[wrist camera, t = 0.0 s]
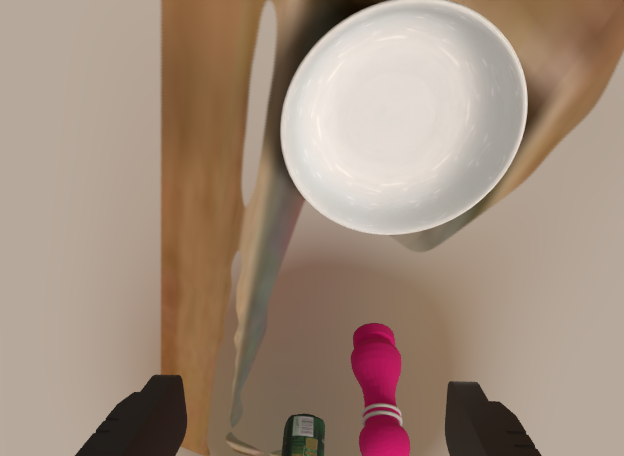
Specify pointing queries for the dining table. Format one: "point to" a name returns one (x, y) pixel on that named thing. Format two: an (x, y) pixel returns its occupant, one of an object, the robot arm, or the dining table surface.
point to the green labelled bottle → (303, 436)
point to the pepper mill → (379, 391)
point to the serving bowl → (403, 116)
